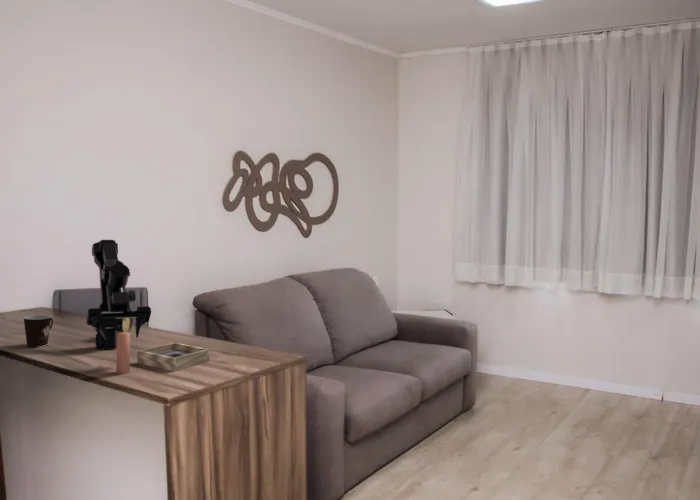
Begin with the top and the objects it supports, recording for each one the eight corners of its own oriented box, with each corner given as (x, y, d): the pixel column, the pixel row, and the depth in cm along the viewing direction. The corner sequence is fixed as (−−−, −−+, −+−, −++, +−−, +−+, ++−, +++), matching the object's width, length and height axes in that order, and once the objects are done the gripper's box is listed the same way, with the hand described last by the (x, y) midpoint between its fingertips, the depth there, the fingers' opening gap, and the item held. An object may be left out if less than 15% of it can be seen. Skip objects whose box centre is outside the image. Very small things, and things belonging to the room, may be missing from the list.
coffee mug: (30, 349, 212) (31, 320, 211) (18, 345, 217) (18, 316, 216) (64, 344, 221) (64, 316, 221) (51, 340, 226) (51, 313, 226)
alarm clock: (122, 341, 230) (123, 297, 229) (107, 340, 230) (108, 297, 229) (133, 335, 241) (134, 293, 240) (119, 334, 241) (120, 292, 240)
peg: (131, 370, 192) (131, 332, 191) (126, 374, 188) (127, 334, 187) (118, 370, 192) (119, 331, 191) (114, 373, 188) (114, 334, 187)
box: (209, 361, 207) (209, 349, 207) (173, 371, 193) (174, 358, 193) (174, 353, 215) (174, 342, 215) (137, 363, 201) (137, 350, 201)
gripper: (87, 282, 191) (91, 324, 182) (150, 281, 200) (157, 321, 191) (84, 303, 198) (88, 345, 189) (145, 301, 207) (151, 341, 198)
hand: (121, 337), depth 192 cm, fingers open, 9 cm apart
